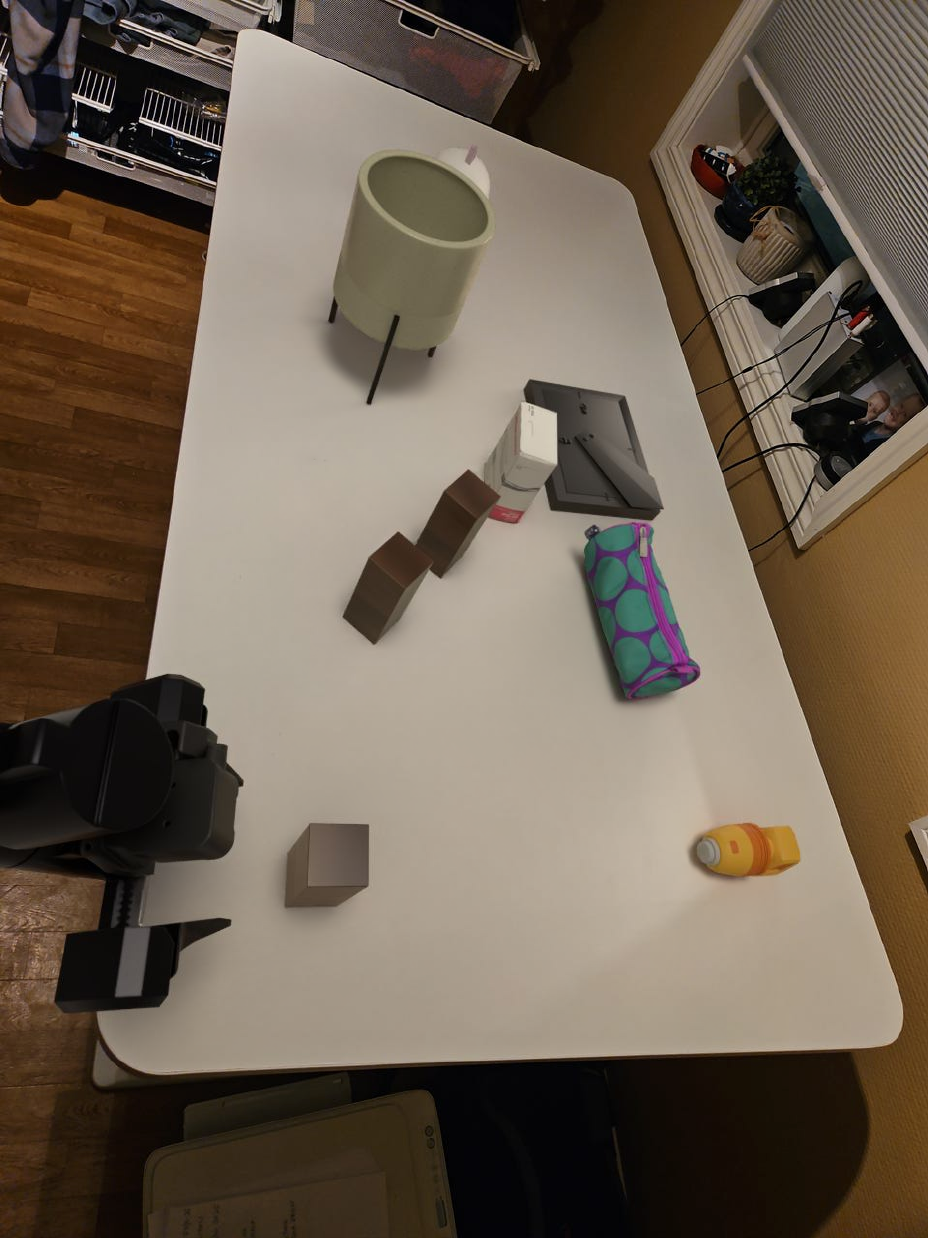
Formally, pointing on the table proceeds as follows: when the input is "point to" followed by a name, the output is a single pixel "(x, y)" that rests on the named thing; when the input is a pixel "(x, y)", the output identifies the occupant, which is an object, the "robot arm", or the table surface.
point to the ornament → (467, 165)
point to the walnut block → (386, 587)
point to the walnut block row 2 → (456, 521)
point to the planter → (410, 251)
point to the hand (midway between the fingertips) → (232, 851)
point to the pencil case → (637, 611)
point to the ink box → (522, 460)
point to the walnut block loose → (327, 865)
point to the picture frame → (595, 454)
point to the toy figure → (749, 850)
